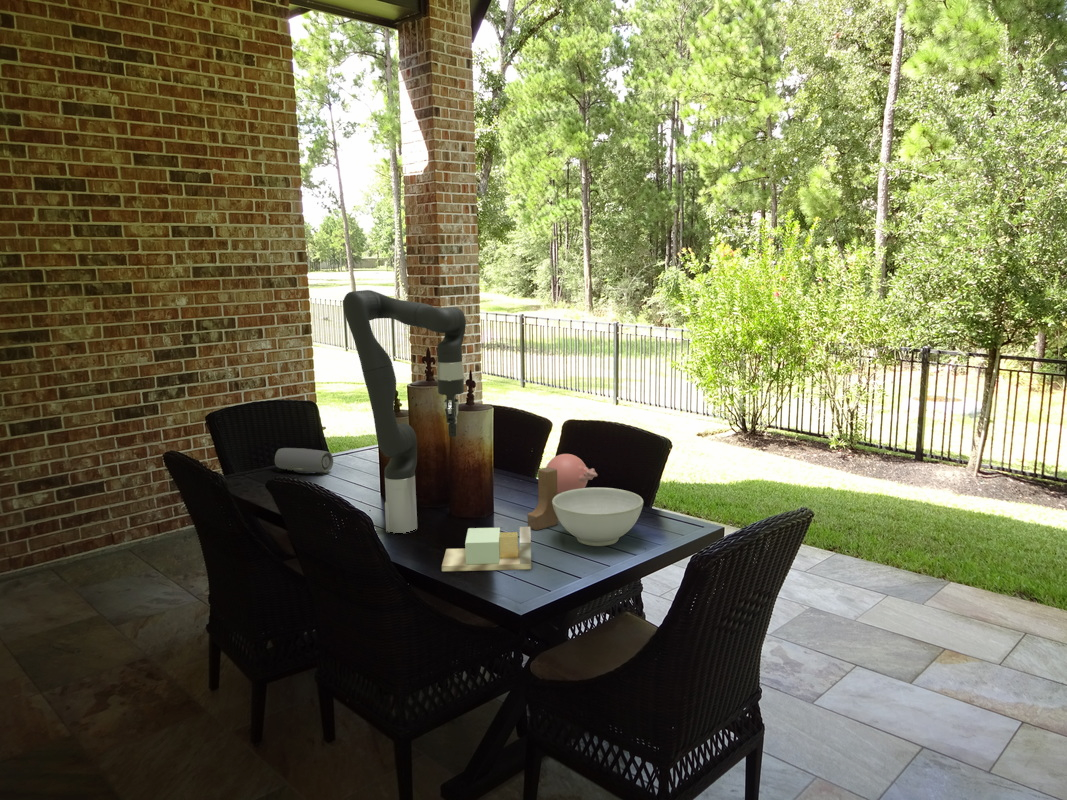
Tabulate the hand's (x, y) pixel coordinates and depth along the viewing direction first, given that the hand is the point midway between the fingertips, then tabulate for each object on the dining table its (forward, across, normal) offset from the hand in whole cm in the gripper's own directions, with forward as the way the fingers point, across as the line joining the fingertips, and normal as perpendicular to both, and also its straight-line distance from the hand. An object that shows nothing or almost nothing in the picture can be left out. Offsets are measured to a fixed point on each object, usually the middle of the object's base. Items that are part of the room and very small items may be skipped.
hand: (452, 436), depth 226 cm
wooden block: (+32, -12, +26) cm, 43 cm away
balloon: (+32, -42, +37) cm, 65 cm away
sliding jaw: (+30, +17, +9) cm, 36 cm away
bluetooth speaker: (+32, -86, -69) cm, 115 cm away
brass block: (+30, +17, +16) cm, 38 cm away
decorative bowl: (+32, +1, +42) cm, 53 cm away
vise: (+32, +17, +10) cm, 38 cm away
